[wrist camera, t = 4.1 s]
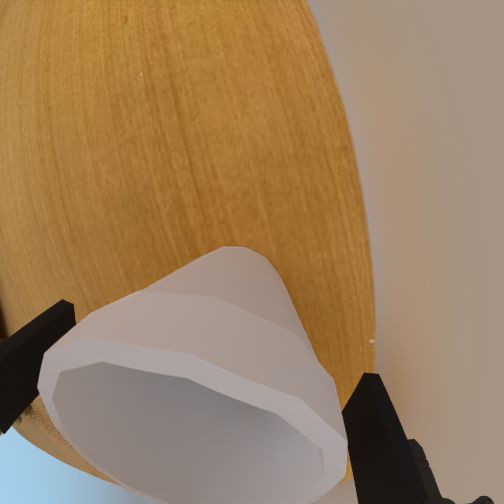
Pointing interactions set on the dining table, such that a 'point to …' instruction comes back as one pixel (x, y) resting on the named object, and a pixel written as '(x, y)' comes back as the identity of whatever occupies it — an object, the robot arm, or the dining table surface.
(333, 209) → the dining table surface
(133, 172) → the dining table surface
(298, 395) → the foam cup
